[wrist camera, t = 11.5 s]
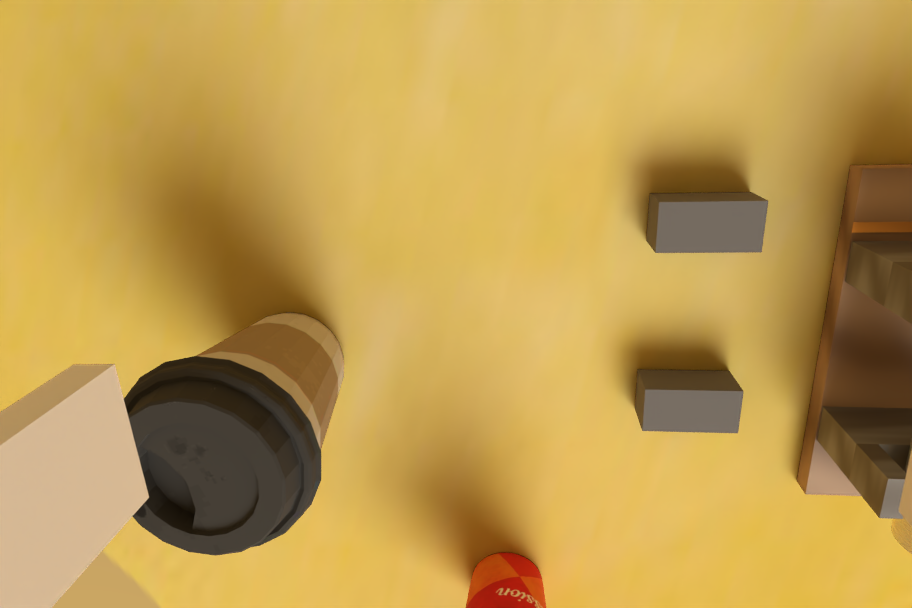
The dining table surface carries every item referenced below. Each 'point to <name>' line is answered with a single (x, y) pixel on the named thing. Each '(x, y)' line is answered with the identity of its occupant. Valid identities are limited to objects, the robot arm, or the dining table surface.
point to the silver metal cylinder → (903, 524)
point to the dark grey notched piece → (866, 349)
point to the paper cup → (506, 583)
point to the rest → (697, 231)
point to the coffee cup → (236, 434)
